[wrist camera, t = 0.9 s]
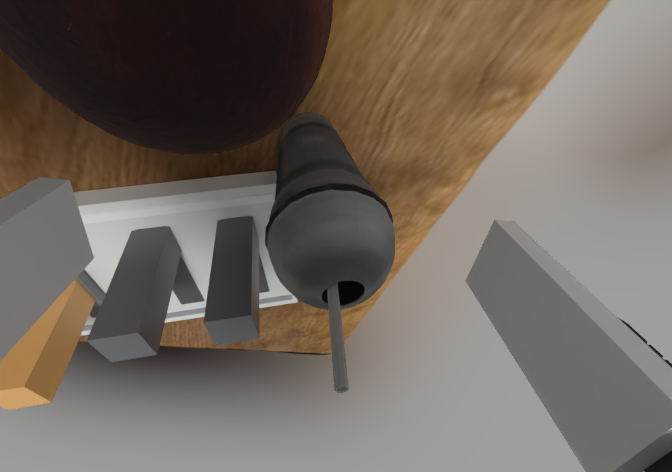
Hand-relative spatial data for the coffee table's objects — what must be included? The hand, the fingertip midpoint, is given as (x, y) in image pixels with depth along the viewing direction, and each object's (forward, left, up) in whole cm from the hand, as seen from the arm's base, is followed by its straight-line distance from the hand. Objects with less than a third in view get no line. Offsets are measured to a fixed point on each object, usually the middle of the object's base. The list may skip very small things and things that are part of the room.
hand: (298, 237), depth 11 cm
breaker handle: (+16, -21, -14) cm, 30 cm away
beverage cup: (+5, +2, -17) cm, 18 cm away
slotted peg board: (+16, -14, -17) cm, 27 cm away
